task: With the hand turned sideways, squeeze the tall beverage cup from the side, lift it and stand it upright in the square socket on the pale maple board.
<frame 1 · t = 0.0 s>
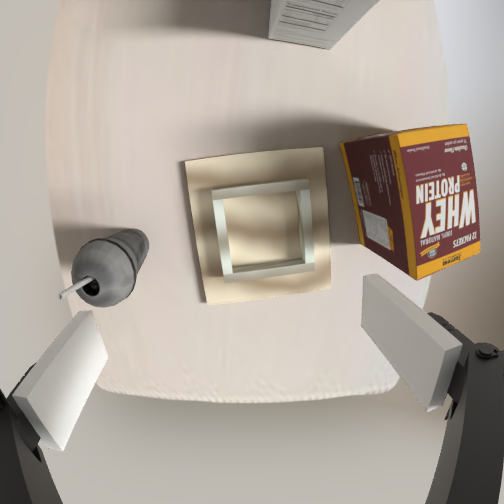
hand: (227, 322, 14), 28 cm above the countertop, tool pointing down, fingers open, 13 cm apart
cup holder: (262, 226, 41), on the countertop
supplement box: (380, 186, 41), on the countertop
supplement box 2: (301, 19, 33), on the countertop
beverage cup: (134, 244, 40), on the countertop
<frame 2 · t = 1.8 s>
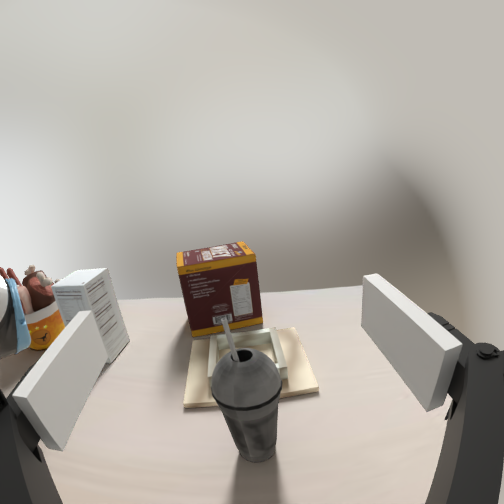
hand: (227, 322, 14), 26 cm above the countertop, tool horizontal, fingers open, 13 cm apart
bucket of meat: (45, 340, 60), on the countertop
cup holder: (247, 366, 49), on the countertop
supplement box: (224, 320, 66), on the countertop
supplement box 2: (104, 350, 57), on the countertop
beverage cup: (257, 449, 32), on the countertop
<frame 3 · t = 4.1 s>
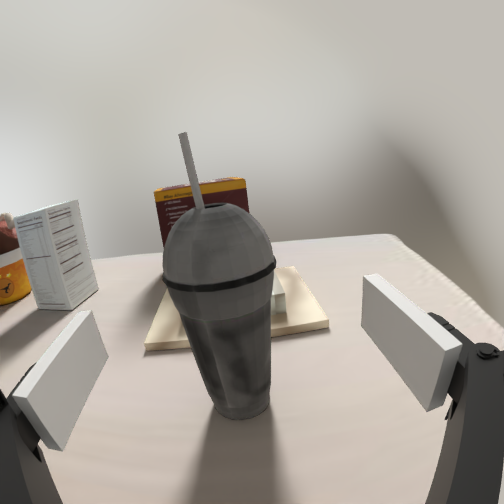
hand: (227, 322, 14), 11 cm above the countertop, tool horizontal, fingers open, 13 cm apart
bucket of meat: (11, 296, 51), on the countertop
cup holder: (233, 305, 40), on the countertop
supplement box: (209, 267, 57), on the countertop
supplement box 2: (68, 300, 47), on the countertop
beverage cup: (242, 401, 23), on the countertop
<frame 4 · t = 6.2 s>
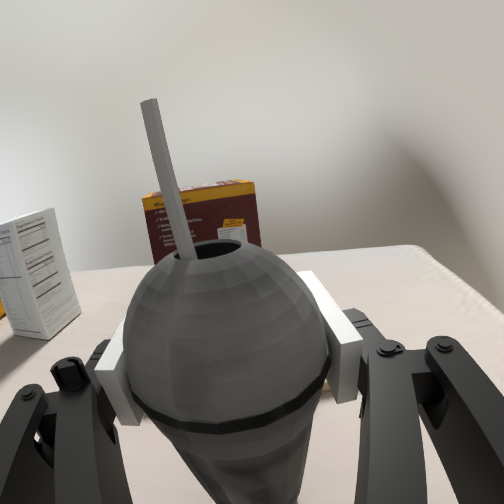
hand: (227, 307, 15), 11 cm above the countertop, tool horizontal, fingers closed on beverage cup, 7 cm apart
supplement box: (210, 286, 48), on the countertop
supplement box 2: (47, 325, 38), on the countertop
beverage cup: (259, 499, 14), on the countertop, touching gripper
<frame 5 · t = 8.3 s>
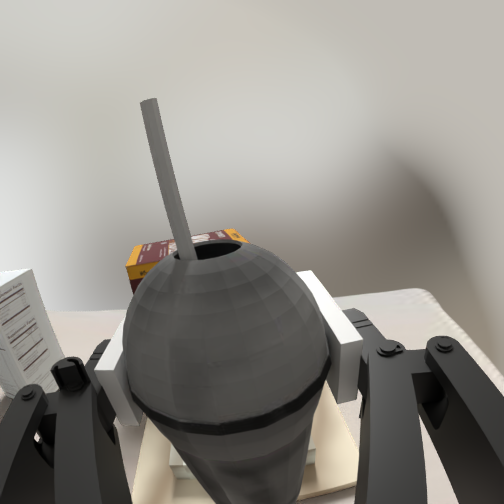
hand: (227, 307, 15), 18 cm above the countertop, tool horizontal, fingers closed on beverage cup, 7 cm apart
cup holder: (241, 434, 26), on the countertop
supplement box: (206, 346, 43), on the countertop
supplement box 2: (38, 386, 33), on the countertop
beverage cup: (259, 499, 14), point 7 cm above the countertop, touching gripper
when the fingers open (13 cm above the countertop, at t = 10.5 s): beverage cup drops 1 cm, resting on cup holder.
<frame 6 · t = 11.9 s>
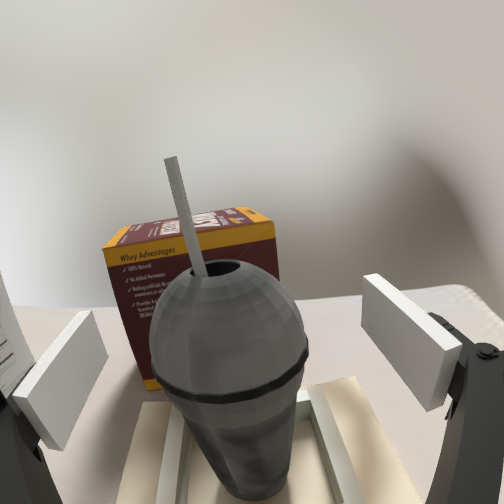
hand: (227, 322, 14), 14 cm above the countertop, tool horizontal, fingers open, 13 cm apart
cup holder: (257, 481, 17), on the countertop
supplement box: (210, 355, 34), on the countertop
supplement box 2: (8, 396, 24), on the countertop
beverage cup: (255, 477, 17), point 1 cm above the countertop, touching cup holder
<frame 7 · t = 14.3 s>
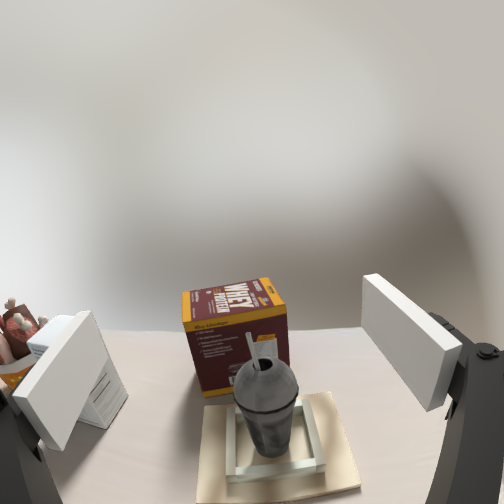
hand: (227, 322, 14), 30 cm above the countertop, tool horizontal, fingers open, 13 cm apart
bucket of meat: (34, 382, 48), on the countertop
cup holder: (273, 448, 35), on the countertop
supplement box: (242, 372, 52), on the countertop
supplement box 2: (98, 407, 44), on the countertop
beverage cup: (272, 446, 35), point 1 cm above the countertop, touching cup holder
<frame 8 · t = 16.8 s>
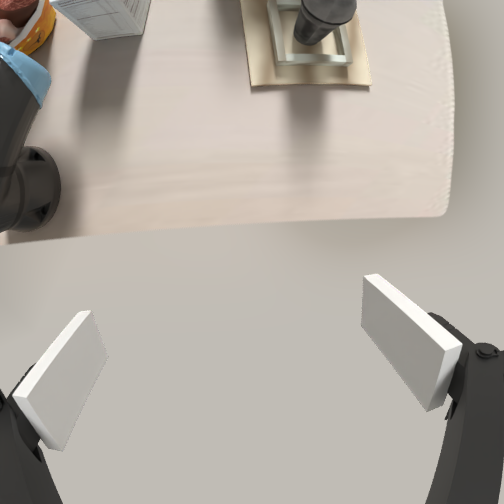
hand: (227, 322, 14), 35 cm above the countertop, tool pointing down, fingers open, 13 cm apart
bucket of meat: (31, 33, 33), on the countertop
cup holder: (306, 36, 40), on the countertop
supplement box 2: (122, 17, 36), on the countertop
beverage cup: (306, 34, 39), point 1 cm above the countertop, touching cup holder
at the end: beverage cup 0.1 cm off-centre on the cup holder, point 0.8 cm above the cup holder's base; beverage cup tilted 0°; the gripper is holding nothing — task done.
